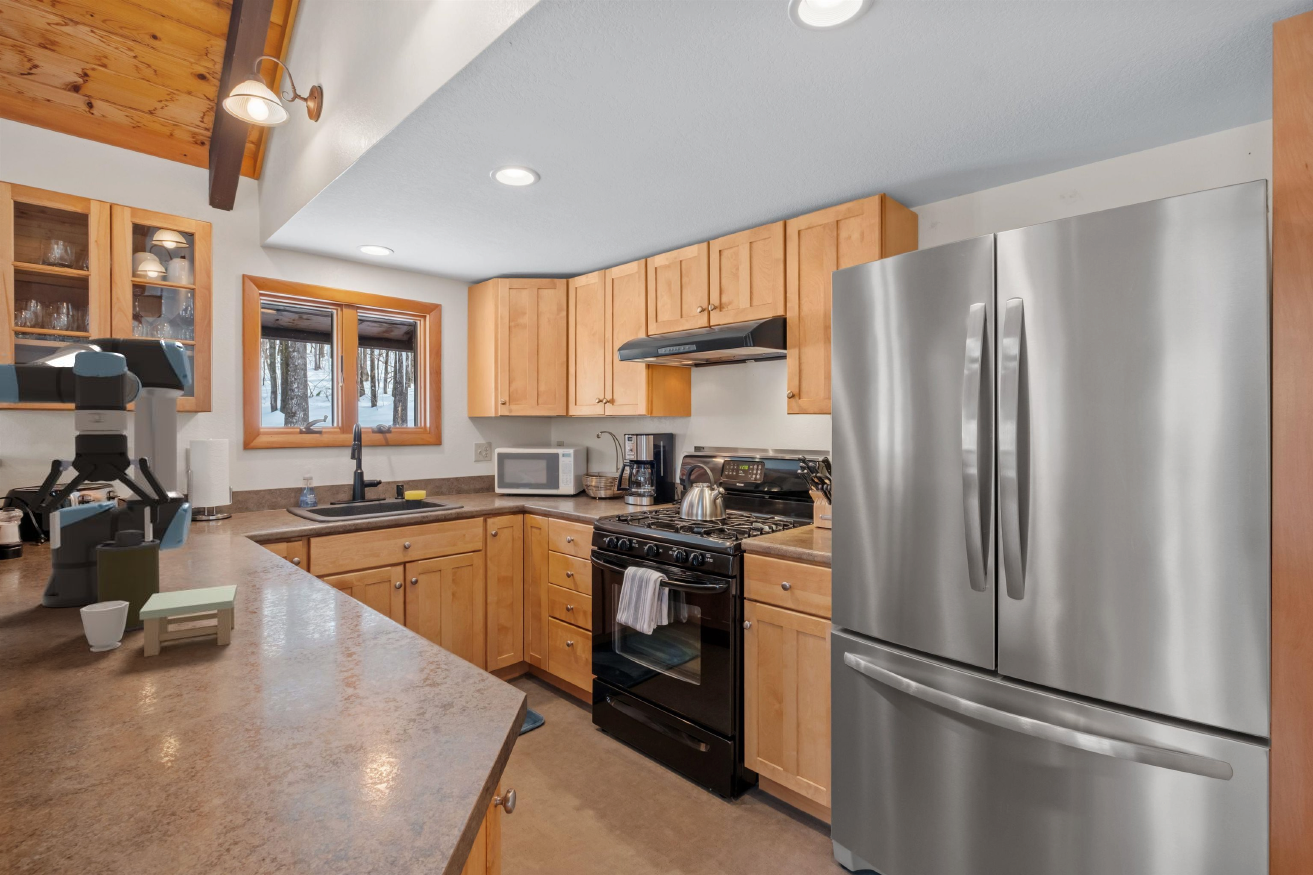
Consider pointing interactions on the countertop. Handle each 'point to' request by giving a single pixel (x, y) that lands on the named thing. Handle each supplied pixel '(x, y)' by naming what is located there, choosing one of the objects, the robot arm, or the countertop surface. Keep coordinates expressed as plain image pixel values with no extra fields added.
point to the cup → (104, 624)
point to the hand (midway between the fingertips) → (103, 544)
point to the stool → (187, 603)
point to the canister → (128, 573)
